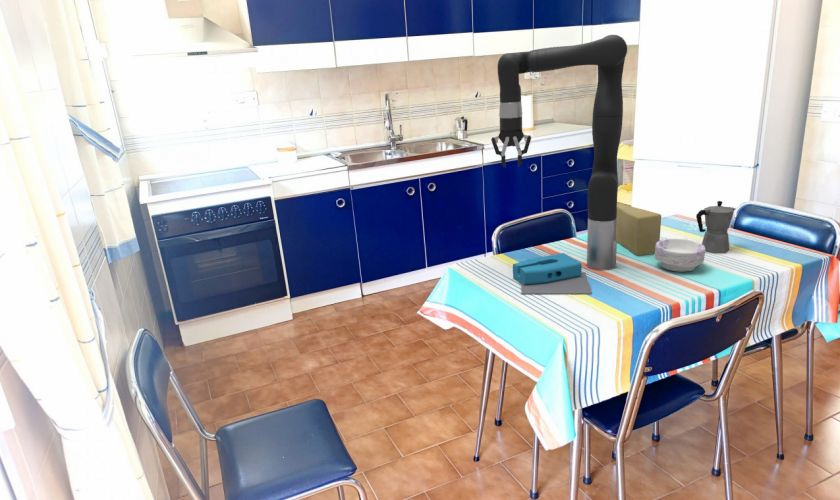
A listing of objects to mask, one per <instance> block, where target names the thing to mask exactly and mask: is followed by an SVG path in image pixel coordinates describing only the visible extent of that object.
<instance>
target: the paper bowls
mask: <svg viewBox="0 0 840 500" xmlns="http://www.w3.org/2000/svg"><path fill="white" fill-rule="evenodd" d="M705 253H706V251H705V246H704V245H702V243H701V242H698V241H695V240H691V239H685V238H665V239H660V241H658V242H657V243H656V245H655V253H654V258H655V260H656V261H658V262H659V263H660V265H661V267H663V268H664V269H666V270H669V271H673V272H677V273H679V272H683V273H685V272H690V271H693V270H694V269H695V268H696V267H698V266H699V265H702V264H703V263H704V261H705Z"/></svg>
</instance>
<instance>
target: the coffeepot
mask: <svg viewBox="0 0 840 500" xmlns="http://www.w3.org/2000/svg"><path fill="white" fill-rule="evenodd" d="M716 204H717V205H710V206H707V207H705V208H703V209H701V210H699V211H698V212H697V213H696V216H695V217H696V222H697V225H698V226H697V227H698V230H699V233H704V235H703V238H702V243H701V244H702V245H704V246H705V253H709V254H725V253H728V252H729V251H730V239H729V238H730V237H729V233H728V230H729V228H730V227H731V224H732V220H733V216H734V214H735V213H734V212H735V210H736V208H735V207H731V206H722V205H723V201H721V200H718V201H717V203H716ZM702 216H704V223H705V224H703V222H702ZM703 225H705V228H703Z"/></svg>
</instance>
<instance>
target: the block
mask: <svg viewBox="0 0 840 500" xmlns="http://www.w3.org/2000/svg"><path fill="white" fill-rule="evenodd" d="M582 266H583V265H582V262H581V261H579V260H578V259H575V258H574V257H572V256H570V255H568V254H566V253H564V252H561V253H555V254H550V255H545V256H540V257H535V258H534V257H533V258H529V259H528V258H527V259H525V260H522V261H518V262H516V263H513V264H512V276H513V279H514V280H516V281H518V282H519V283H520V284H521V283H522V284H523V285H527V284H539V283H547V282H552V281H557V280H562V279H568V278H573V277H578V276H581V274H582V272H583V271H582Z"/></svg>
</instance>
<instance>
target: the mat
mask: <svg viewBox="0 0 840 500" xmlns="http://www.w3.org/2000/svg"><path fill="white" fill-rule="evenodd" d="M520 290H521V291H520V294H521V295H593V291H592V289H591V286H590V283H589V280H588V276H587V273H586V272H583V271H582V274H581V276H578V277H573V278H568V279H562V280H557V281H552V282H547V283H539V284H527V285H523V284H522V283H520Z"/></svg>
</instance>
